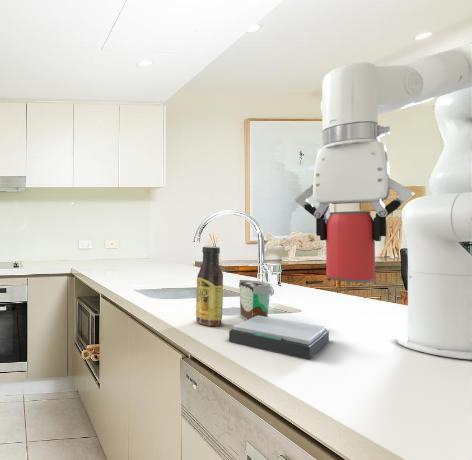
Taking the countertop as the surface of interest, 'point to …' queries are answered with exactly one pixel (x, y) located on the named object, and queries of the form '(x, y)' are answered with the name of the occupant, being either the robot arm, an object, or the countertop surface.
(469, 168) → the robot arm
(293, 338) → the scale
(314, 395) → the countertop surface
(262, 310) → the food container
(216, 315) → the sauce bottle
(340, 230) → the beer can
